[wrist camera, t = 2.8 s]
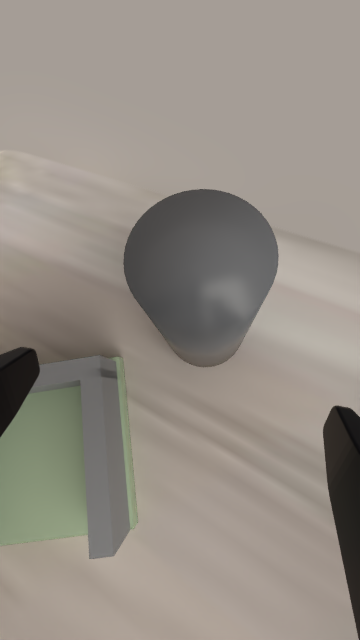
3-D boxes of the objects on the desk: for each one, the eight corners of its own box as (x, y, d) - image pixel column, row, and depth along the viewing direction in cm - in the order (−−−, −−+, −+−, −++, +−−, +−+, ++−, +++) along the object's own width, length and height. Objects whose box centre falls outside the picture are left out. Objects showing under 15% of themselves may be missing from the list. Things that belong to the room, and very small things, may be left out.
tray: (137, 521, 18) (117, 555, 14) (-19, 542, 18) (-80, 579, 15) (122, 358, 21) (102, 349, 17) (-14, 380, 21) (-64, 376, 17)
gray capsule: (237, 373, 20) (268, 342, 9) (161, 359, 20) (107, 316, 10) (247, 299, 21) (285, 196, 10) (175, 289, 22) (141, 183, 11)
